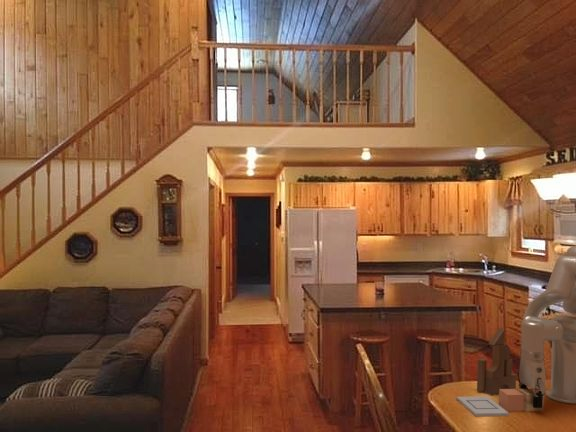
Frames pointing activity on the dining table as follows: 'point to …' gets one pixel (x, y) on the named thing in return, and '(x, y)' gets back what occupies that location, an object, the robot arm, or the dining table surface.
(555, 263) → the robot arm
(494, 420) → the dining table surface
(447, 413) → the dining table surface
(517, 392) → the rust block
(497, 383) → the wooden toy
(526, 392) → the birch block
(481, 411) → the board
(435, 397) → the dining table surface
